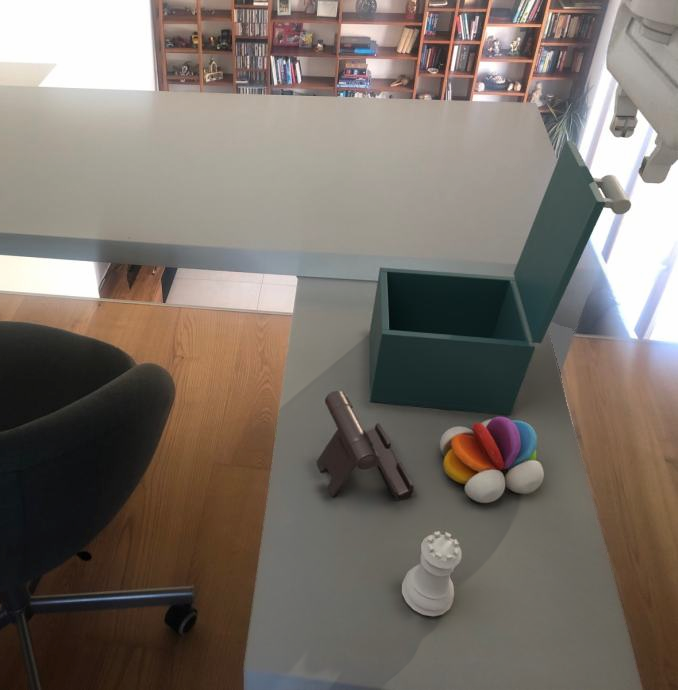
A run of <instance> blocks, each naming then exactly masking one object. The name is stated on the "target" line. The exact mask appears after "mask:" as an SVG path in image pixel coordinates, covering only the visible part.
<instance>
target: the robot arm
mask: <svg viewBox="0 0 678 690" xmlns="http://www.w3.org/2000/svg"><path fill="white" fill-rule="evenodd" d="M605 58H606V59H605V64H606V65H605V67H606V70H607V71H608V72H609V74H610V75H611V76H612V78H613V79H614V80H615V82H617V86H616V89H615V96H614V107H613V116H612V118H611V121H610V124H609V131H610V132H611V135H613V137H615V138H623V139H624V138H625V139H628V138H631V137H632V136H633V135H634V133H635V129H636V127H637V124H638V122H639V119H638V118H637V114H638V111H639V113H641V115H642V117H644V119H645V120H646V122H647V123H648V124H649V125H650V127H651V129H653V130H654V131H655V133H656V134H657V135H656V136H655V139H654V145H655V147H654V149H653V150H652V152H651V153H650V154H649V155H648V156H645V155H644V156H643V158H642V160H641V164H640V167H639V168H638V175H639V177H640V178H641V180H642V181H643V182H644V184H662V183H663V182H665V181H666V179H667V177H668V174H669V172H670V171H671V168H672V166H673V165H674V164H675V163H676V162H678V0H620V2H619V5H618V8H617V11H616V14H615V18H614V22H613V25H612V28H611V33H610V37H609V40H608V43H607V50H606V56H605Z"/></svg>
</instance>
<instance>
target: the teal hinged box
mask: <svg viewBox="0 0 678 690" xmlns="http://www.w3.org/2000/svg"><path fill="white" fill-rule="evenodd" d="M376 283H377V284H376V291H375V297H374V304H373V309H372V315H371V322H370V329H369V401H370V403H377V404H388V405H399V406H410V407H419V408H420V407H421V408H431V409H439V410H440V409H441V410H450V411H451V410H452V411H461V412H469V413H470V412H471V413H482V414H492V415H502V416H511V415H512V412H513V409H514V407H515V404H516V401H517V399H518V396H519V393H520V390H521V388H522V384H523V382H524V380H525V376H526V373H527V371H528V368H529V366H530V363H531V361H532V357H533V356H534V352H535V349H536V343H533V340H532V337H531V333H530V330H529V326H528V322H527V319H526V315H525V312H524V308H523V305H522V301H521V298H520V294H519V291H518V287H517V283H516V280H515V276H505V275H491V274H478V273H477V274H476V273H465V272H463V273H462V272H450V271H437V270H436V271H434V270H421V269H407V268H395V267H394V268H393V267H379V270H378V278H377V282H376Z"/></svg>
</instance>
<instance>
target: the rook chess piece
mask: <svg viewBox="0 0 678 690" xmlns="http://www.w3.org/2000/svg"><path fill="white" fill-rule="evenodd" d="M451 537H452V534H451V533H449V532H447V531H445V533H444V534H441V531H440V530H438V531H434V532H433V534H429V535H428V536H426V537H424V539H423V540H422V543H421V544H420V549H421V550H420V552H421V554H420V563H419V564H417V565H415V566H413V567H412V568H411V569H409V570H408V571H407V573H406V575H405V577H404V579H403V581H402V583H401V594H402V596H403V599H404V600H405V602H406V604H407V605H408V606H409V607H410V608H411V609H412V610H413V611H415V612H417V613H419V614H420V615H424V616H430V617H437V616H441V615H444V614H445V613H446V612H447V611H449V610H450V609H451V607H452V605H453V603H454V597H455V589H454V588H455V587H454V586H455V585H454V583H453V581H452V579H451V574H452V573H453V572H454V570H455V568H456V566H457V565H459V564H460V562H461V560H462V558H463V556H462V549H461V547H460V543H459V541H458V540H457V538H454V539H453V538H451Z"/></svg>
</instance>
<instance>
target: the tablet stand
mask: <svg viewBox="0 0 678 690" xmlns="http://www.w3.org/2000/svg"><path fill="white" fill-rule="evenodd" d="M324 403H325V405H326V407H327V410H328V411H329V413H330V415H331V417H332V420H333V422H334V424H335V425H336V428H337V429H336V431H335V432H334V434H333V436H332V437H331V439H330V440H329V441H328V443H327V445H326V446H325V448H324V449H323V451H322V452H321V454H320V455H319V457H318V459H317V460H316V467H317V469H318V471H319V473H323V472H324V471H325V470H326V469H327V470H328V472H329V475H330V480H329V483H328V484H327V486H326V489H327V492H328V493H329V495H330V496H331V497H335V496H336V495H337V494H338V492H339V491H340V489H341V488H342V486H343V485H344V484H345V482H346V481H347V479H348V478H349V476H350V475H351V474H352V472H353V470H354V469H355V468H357V469H358V470H360V471H361V470H362V471H364V470H369V469H372V468H374V467H379V469H380V471H381V473H382V474H383V476H384V478H385V480H386V482H387V484H388V489H389V490H390V492H391V494H393V496H394V497H395V499H396V500H399V501H403V500H406V499H408V498H410V497H411V496H412V495H413V493H414V483H413V481H412V479H411V478H410V477H411V476H409V474H408V472H407V470H406V469H405V466H404V464H403V463H402V462H401V461H398V458H397V457H396V456H395V453H394V451H393V449H392V448H391V442H390V440H389V438H388V436H387V434H386V433H385V431H384V429H383V427H382V426H381V424H380V422H377V423H376V424H375V426H374V428H372V429H370V430H368V431H366V430H365V429H364V428H363V426H362V424H361V423H360V421H359V419H358V417H357V415H356V413H355V411H354V407H353V405H352V403H351V401H350V399H349V397H348V396H346V393H345V392H343V391H342V390H334V391H331V392H329V393H328V394H327V395H326V396H325V399H324Z"/></svg>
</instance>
